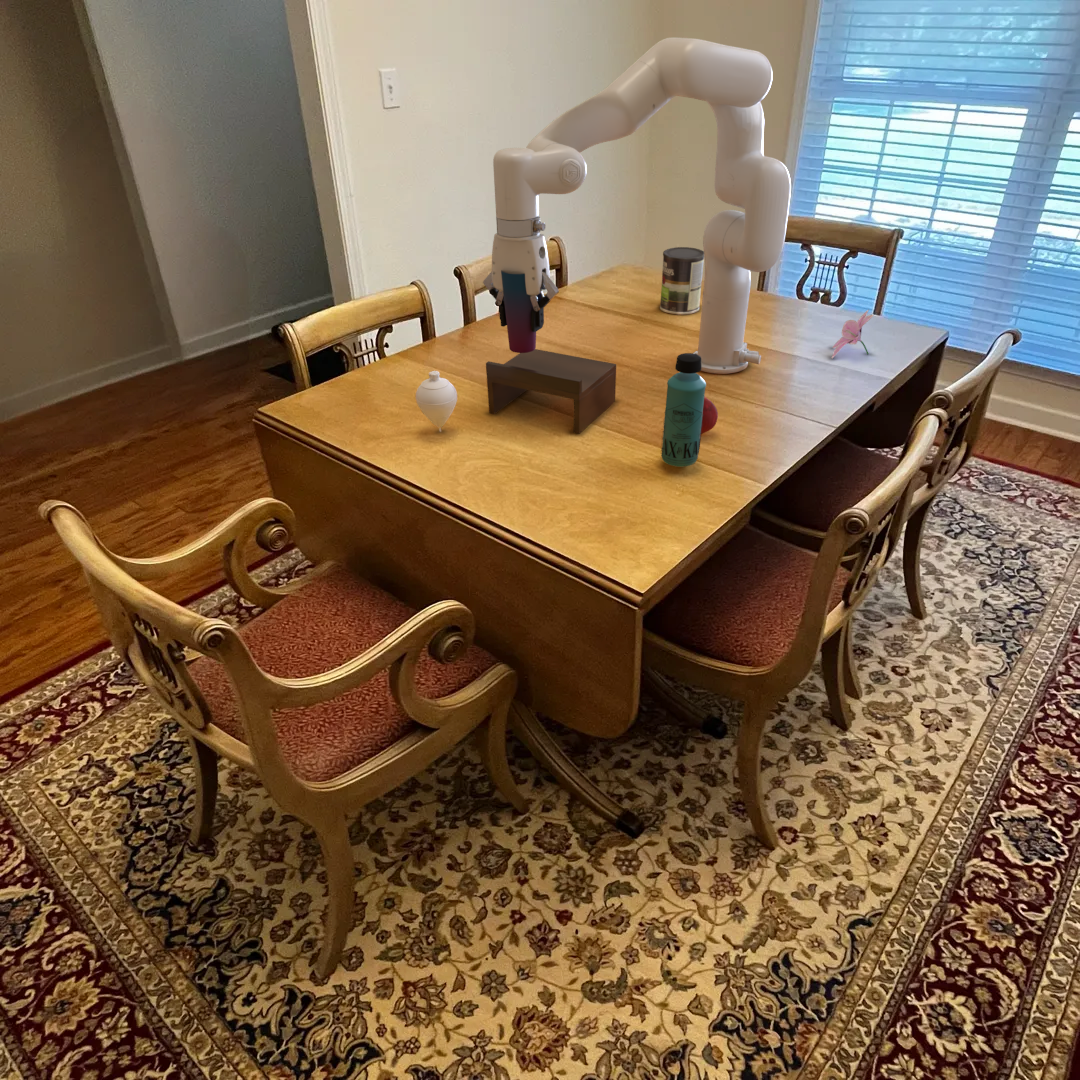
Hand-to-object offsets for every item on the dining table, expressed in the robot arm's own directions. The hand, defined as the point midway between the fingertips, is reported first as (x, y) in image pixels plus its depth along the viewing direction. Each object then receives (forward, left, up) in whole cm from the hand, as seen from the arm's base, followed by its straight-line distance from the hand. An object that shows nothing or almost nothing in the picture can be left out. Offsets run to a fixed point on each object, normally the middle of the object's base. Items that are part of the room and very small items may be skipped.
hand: (521, 326), depth 149 cm
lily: (-51, -57, -17) cm, 78 cm away
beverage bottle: (-36, +8, -17) cm, 41 cm away
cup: (0, 0, -5) cm, 5 cm away
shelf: (-5, -3, -17) cm, 18 cm away
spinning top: (+9, +16, -17) cm, 25 cm away
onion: (-35, -5, -17) cm, 39 cm away
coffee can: (-6, -70, -17) cm, 72 cm away
